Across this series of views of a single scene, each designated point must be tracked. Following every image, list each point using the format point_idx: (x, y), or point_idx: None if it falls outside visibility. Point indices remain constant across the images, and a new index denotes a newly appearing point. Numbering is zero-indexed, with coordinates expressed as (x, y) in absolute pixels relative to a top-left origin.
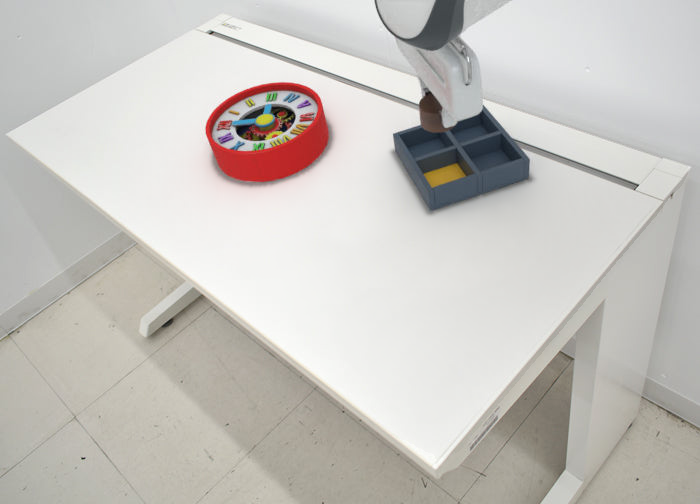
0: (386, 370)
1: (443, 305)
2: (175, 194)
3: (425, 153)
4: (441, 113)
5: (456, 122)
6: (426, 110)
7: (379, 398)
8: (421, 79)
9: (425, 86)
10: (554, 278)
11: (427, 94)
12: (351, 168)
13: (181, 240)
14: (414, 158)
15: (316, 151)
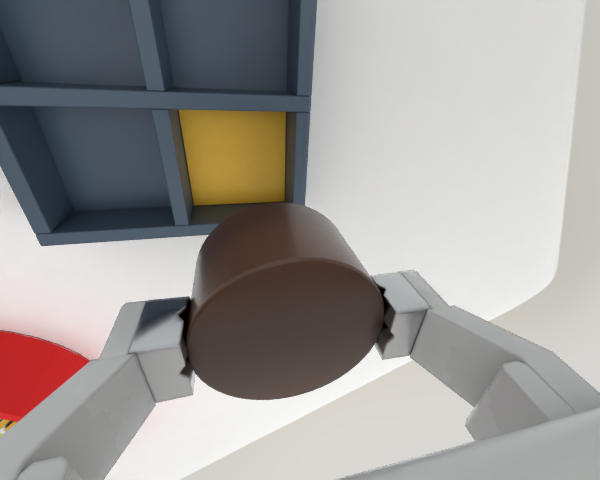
0: (469, 305)
1: (452, 242)
2: (113, 472)
3: (106, 161)
4: (418, 363)
5: (416, 272)
6: (320, 381)
7: (485, 313)
8: (107, 464)
9: (145, 403)
10: (532, 80)
11: (192, 370)
12: (113, 300)
13: (206, 451)
14: (176, 224)
15: (52, 359)
